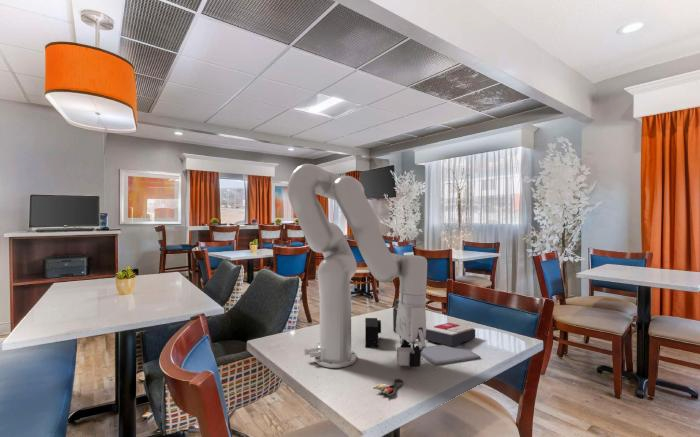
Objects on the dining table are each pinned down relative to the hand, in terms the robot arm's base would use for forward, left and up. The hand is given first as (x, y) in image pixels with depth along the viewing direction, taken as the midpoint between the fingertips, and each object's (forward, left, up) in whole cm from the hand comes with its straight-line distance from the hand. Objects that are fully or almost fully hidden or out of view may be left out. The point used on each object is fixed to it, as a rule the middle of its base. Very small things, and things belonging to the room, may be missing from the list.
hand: (409, 361), depth 93 cm
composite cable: (-10, -10, -2) cm, 15 cm away
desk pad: (+15, +4, -1) cm, 16 cm away
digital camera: (-3, +22, -2) cm, 22 cm away
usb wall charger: (0, 0, -1) cm, 1 cm away
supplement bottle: (+12, +28, -2) cm, 31 cm away
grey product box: (+24, +15, -1) cm, 28 cm away
